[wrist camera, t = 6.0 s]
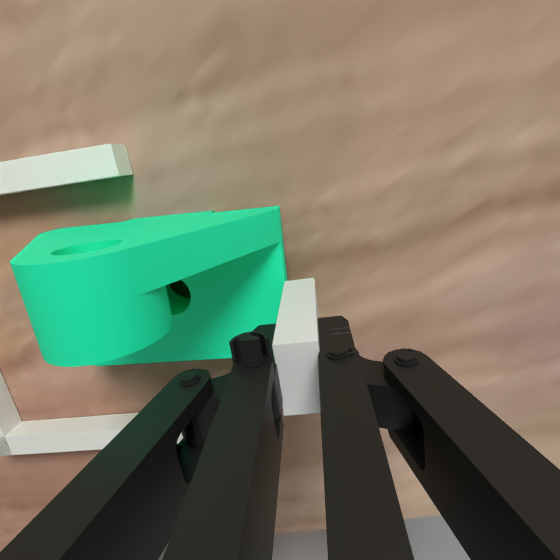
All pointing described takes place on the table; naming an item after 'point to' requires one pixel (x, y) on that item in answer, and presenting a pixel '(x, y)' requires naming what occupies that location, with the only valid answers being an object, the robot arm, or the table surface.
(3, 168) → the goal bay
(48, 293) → the camera mount
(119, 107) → the table surface
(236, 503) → the robot arm
